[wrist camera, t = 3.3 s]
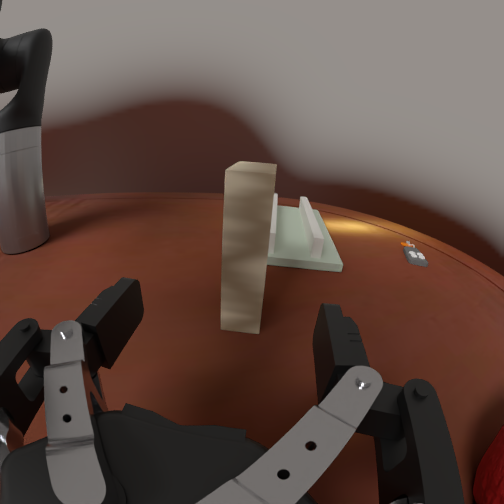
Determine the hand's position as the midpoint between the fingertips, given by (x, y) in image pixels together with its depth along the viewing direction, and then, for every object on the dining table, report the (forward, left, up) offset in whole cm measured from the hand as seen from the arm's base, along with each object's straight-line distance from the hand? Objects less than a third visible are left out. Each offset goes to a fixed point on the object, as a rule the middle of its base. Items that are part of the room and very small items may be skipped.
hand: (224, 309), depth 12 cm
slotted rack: (-9, +30, -7) cm, 32 cm away
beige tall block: (-4, +9, -7) cm, 12 cm away
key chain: (+10, +38, -8) cm, 40 cm away
